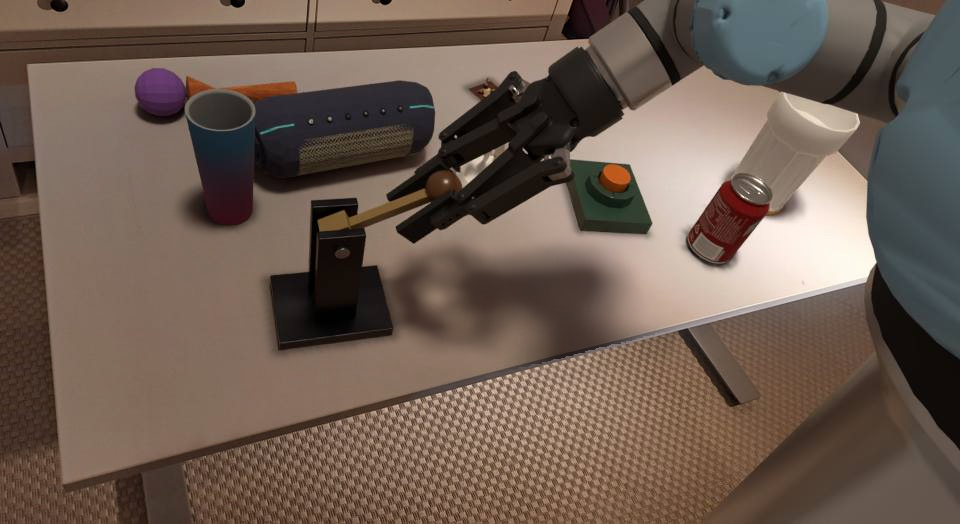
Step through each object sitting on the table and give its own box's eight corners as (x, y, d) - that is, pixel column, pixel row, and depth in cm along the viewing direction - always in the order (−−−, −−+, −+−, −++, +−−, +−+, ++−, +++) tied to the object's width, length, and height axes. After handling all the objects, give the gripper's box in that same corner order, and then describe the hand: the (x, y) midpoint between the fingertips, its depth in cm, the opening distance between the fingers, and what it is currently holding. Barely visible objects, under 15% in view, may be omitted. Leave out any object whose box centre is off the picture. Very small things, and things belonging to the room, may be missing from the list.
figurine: (445, 182, 90) (468, 92, 79) (470, 148, 96) (494, 59, 84) (504, 209, 89) (535, 122, 78) (525, 173, 95) (557, 87, 84)
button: (629, 194, 91) (634, 185, 90) (602, 192, 90) (607, 183, 89) (622, 174, 94) (626, 165, 92) (596, 172, 93) (600, 163, 91)
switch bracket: (376, 271, 78) (390, 180, 66) (392, 334, 72) (410, 248, 61) (270, 281, 73) (266, 187, 62) (279, 349, 68) (277, 260, 57)
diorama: (474, 90, 105) (477, 78, 103) (490, 84, 107) (493, 73, 106) (486, 100, 104) (489, 89, 102) (502, 94, 106) (506, 83, 104)
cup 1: (268, 223, 79) (264, 124, 67) (209, 237, 75) (195, 136, 64) (249, 184, 82) (243, 84, 71) (192, 196, 79) (176, 93, 67)
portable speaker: (259, 200, 80) (256, 137, 73) (236, 147, 85) (231, 83, 78) (440, 165, 92) (453, 107, 84) (410, 120, 97) (421, 61, 89)
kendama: (301, 95, 89) (135, 93, 80) (296, 124, 93) (138, 125, 84) (293, 62, 91) (130, 57, 82) (288, 92, 96) (134, 90, 87)
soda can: (710, 273, 90) (757, 213, 81) (676, 239, 93) (717, 178, 84) (739, 256, 93) (787, 197, 84) (705, 224, 96) (747, 164, 87)
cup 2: (797, 226, 101) (872, 139, 88) (729, 212, 99) (795, 121, 86) (778, 177, 108) (845, 89, 95) (715, 163, 107) (774, 73, 94)
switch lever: (460, 180, 66) (451, 157, 63) (470, 207, 63) (462, 183, 61) (328, 232, 66) (313, 210, 63) (334, 259, 64) (318, 239, 61)
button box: (646, 234, 92) (658, 214, 89) (580, 230, 90) (590, 210, 87) (624, 174, 100) (634, 155, 97) (562, 169, 97) (571, 149, 94)
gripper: (660, 164, 56) (442, 299, 63) (586, 50, 66) (403, 178, 72) (631, 116, 50) (394, 271, 57) (554, -2, 60) (359, 142, 66)
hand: (400, 218), depth 65 cm, fingers closed on switch lever, 4 cm apart
